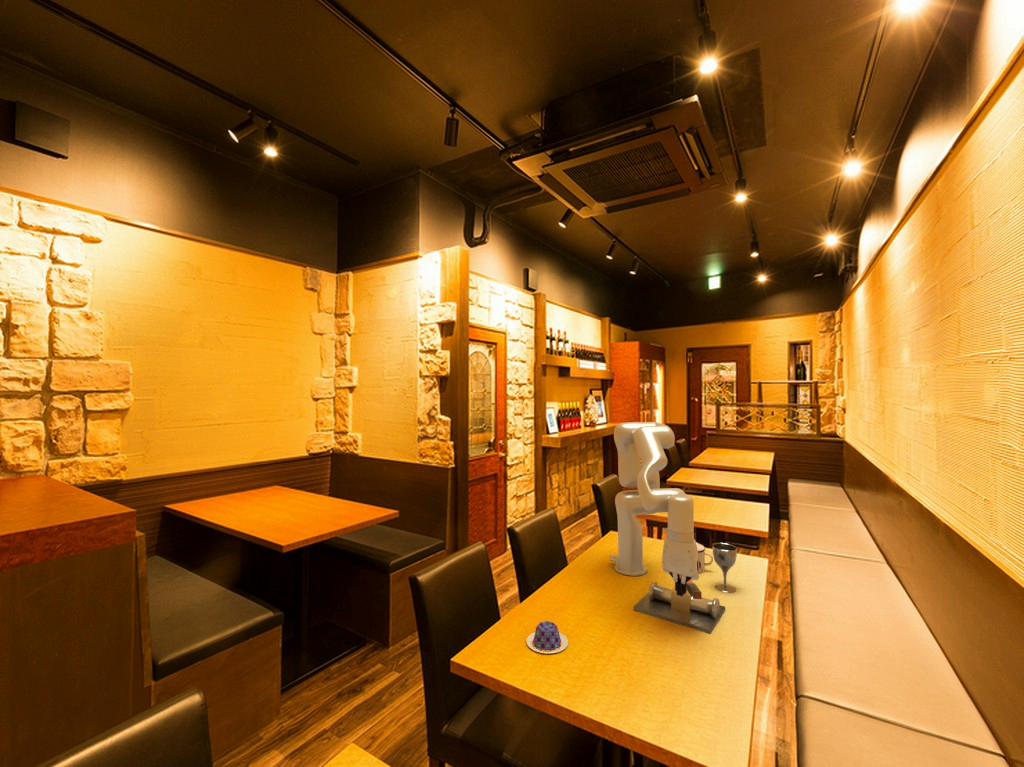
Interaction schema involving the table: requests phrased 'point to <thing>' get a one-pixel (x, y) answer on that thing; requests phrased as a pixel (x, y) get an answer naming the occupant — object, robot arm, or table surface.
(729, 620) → the table surface
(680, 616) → the valve
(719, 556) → the wine glass
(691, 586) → the lever
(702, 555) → the teacup with lid
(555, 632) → the pudding
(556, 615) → the table surface
